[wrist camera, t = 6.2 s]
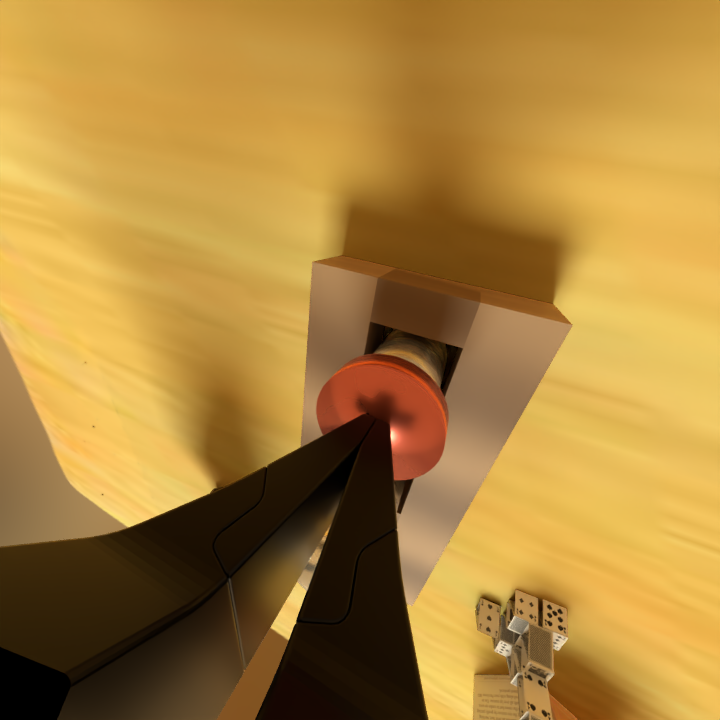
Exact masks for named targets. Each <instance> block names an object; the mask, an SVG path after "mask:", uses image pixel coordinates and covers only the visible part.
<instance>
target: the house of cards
mask: <svg viewBox="0 0 720 720" xmlns="http://www.w3.org/2000/svg"><path fill="white" fill-rule="evenodd" d="M509 601H510V603H508V602H507V614H506V613H504V612H503V613H504V616H502V615H501V626H500V609H501V606H499V605H497V604H494V603H492V602H490V601H487V600H485V599H483V598H480V602H479V605H478V607H477V609H476V610H475V613H476V622H477V630H478V631H480V632H482V633H485V634H487V635H489V636H491V637H492V640H493V646H494V651H495V652H497V653H499V654H501V655H503V656H505V657H506V660H507V664H508V669H509V674H510V683H511V684H513V685H515V686H517V687H518V699H519V712H520V719H519V720H553V719H552V712H551V705H550V698H549V691H548V684H547V682H548V681H549V680H550V679H551V678H552V677H553V676H554V674H555V672H554V655H553V649H555V650H558V651H559V649H560V648H561V647H562V646H563V645H564V643H565V642H566V641H567V640H568V626H567V609H566V608H564V607H561V606H559V605H556V604H554V603H551V602H549V601H546V600H544V599H543V612H541V611H538V598H536V597H533V596H531V595H529V594H526V593H524V592H521V591H519V590H515V602H514V601H512V600H510V599H509ZM562 635H563V636H562Z"/></svg>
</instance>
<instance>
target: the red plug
mask: <svg viewBox="0 0 720 720" xmlns="http://www.w3.org/2000/svg"><path fill="white" fill-rule="evenodd" d="M446 362H447V348H446V345H445V343H443V342H439V341H436V340H432V339H429V338H425V337H422V336H419V335H415V334H412V333H408V332H405V331H401V330H398V329H394V330H393V331H392V332H391V333H390V334H389V335H388V336H387V338H386V339H385V340H384V341H383V342H382V344H381V345H380V346H379V347H378V348H377V349H376V351H375V352H374V353H373V354H367V355H363V356H359V357H356V358H354V359H352V360H350V361H349V362H347V363H346V364H345V365H343V366H342V367H341V368H340V369H339V370H338V371H337V372H336V373H335V374H334V375H333V376H332V377H331V378H330V379H329V380H328V381H327V382H326V384H325V385H324V386H323V387H322V389H321V391H320V393H319V396H318V399H317V404H316V414H317V420H318V424H319V427H320V430H321V432H322V434H323V435H325V434H326V433H328V432H330V431H332V430H334V429H336V428H338V427H339V426H341V425H343V424H345V423H347V422H349V421H351V420H353V419H354V418H356V417H358V416H360V415H362V414H367V415H369V416H372V417H374V418H375V419H376V420H377V419H380V420H382V421H385V422H387V423H389V424H390V431H391V445H392V458H393V472H394V480H408V479H413V478H417V477H419V476H421V475H424V474H425V473H427V472H429V471H430V470H431V469H432V468H433V467H435V465H436V464H437V463H438V462H439V460H440V458H441V456H442V454H443V451H444V447H445V441H446V435H447V429H448V422H449V411H448V406H447V402H446V400H445V397H444V395H443V393H442V391H441V389H440V386H441V382H442V378H443V374H444V370H445V366H446Z"/></svg>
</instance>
